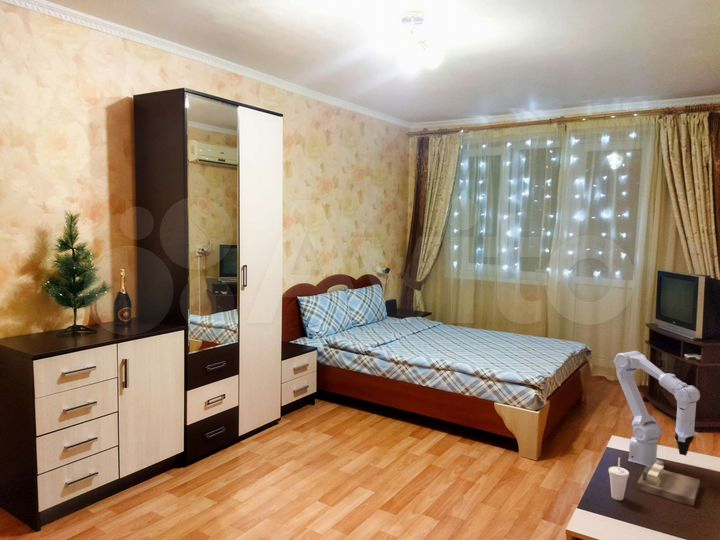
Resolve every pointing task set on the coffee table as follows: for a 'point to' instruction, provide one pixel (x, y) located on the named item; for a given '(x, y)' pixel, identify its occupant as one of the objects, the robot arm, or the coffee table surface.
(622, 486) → the smoothie
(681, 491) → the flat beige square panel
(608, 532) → the coffee table surface
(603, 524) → the coffee table surface
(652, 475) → the hinged leg
